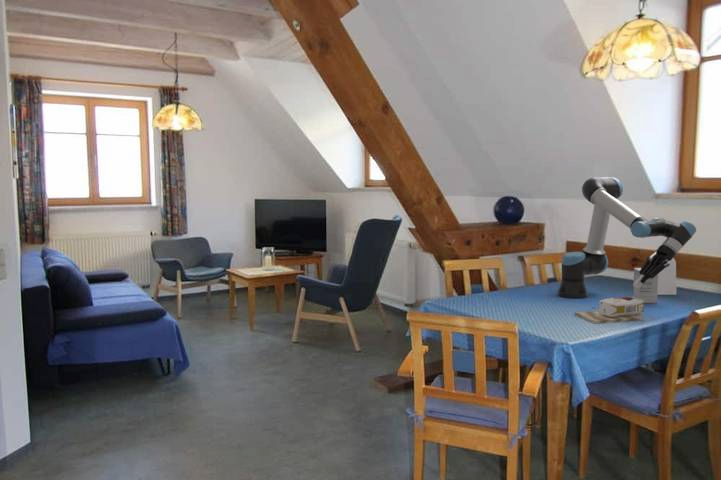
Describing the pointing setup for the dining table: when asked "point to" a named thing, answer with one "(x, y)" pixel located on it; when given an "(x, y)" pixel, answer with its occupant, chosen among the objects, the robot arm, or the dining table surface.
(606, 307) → the juice carton
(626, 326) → the dining table surface
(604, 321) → the wooden board
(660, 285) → the milk
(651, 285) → the supplement box
